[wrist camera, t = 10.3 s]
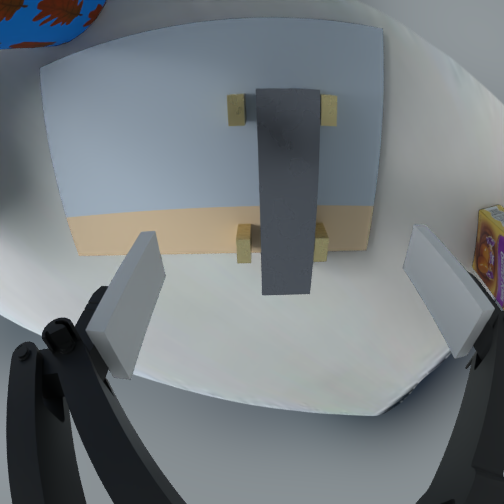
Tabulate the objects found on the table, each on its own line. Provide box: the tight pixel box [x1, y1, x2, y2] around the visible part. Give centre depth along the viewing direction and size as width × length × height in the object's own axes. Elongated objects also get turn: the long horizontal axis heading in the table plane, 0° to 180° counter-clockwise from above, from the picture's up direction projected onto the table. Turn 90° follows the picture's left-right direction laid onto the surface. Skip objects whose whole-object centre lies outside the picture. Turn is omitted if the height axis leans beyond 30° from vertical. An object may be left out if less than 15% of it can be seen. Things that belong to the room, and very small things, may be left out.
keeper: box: [227, 93, 337, 263], centre depth 24 cm, size 8×14×3 cm, turn 2°
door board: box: [40, 17, 384, 256], centre depth 24 cm, size 32×22×1 cm
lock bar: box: [256, 88, 320, 295], centre depth 23 cm, size 16×4×6 cm, turn 2°
